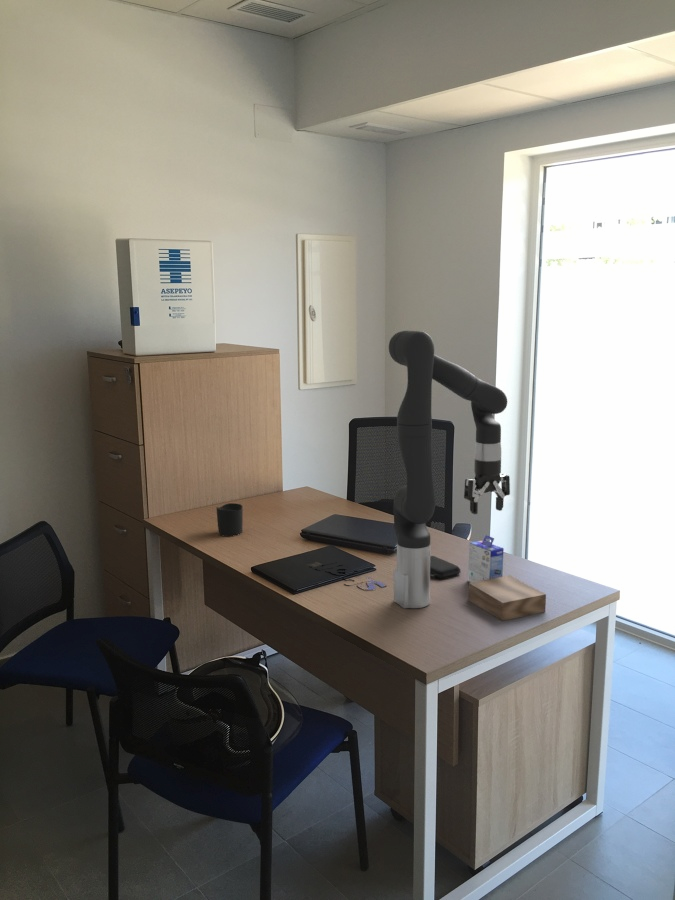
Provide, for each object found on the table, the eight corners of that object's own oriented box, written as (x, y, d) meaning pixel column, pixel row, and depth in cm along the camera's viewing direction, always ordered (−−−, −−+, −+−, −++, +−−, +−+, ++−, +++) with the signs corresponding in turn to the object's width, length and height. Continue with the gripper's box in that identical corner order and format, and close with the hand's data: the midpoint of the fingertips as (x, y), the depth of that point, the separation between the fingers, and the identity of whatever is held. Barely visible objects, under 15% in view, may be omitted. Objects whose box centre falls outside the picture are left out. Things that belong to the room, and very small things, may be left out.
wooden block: (502, 620, 204) (502, 602, 203) (468, 599, 218) (468, 582, 217) (545, 611, 209) (545, 594, 208) (509, 591, 223) (510, 575, 223)
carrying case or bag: (406, 568, 244) (436, 583, 232) (406, 559, 244) (436, 573, 231) (432, 562, 250) (463, 575, 238) (432, 553, 249) (463, 566, 237)
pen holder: (245, 535, 279) (244, 509, 278) (218, 538, 277) (217, 511, 275) (241, 528, 288) (240, 502, 286) (216, 530, 286) (215, 504, 284)
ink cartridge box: (503, 587, 227) (505, 540, 224) (489, 591, 224) (490, 543, 221) (480, 577, 235) (481, 531, 232) (466, 581, 232) (467, 535, 229)
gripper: (474, 462, 216) (473, 518, 219) (516, 457, 221) (514, 511, 225) (459, 457, 223) (458, 511, 226) (500, 452, 228) (499, 505, 231)
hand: (486, 511), depth 225 cm, fingers open, 8 cm apart
